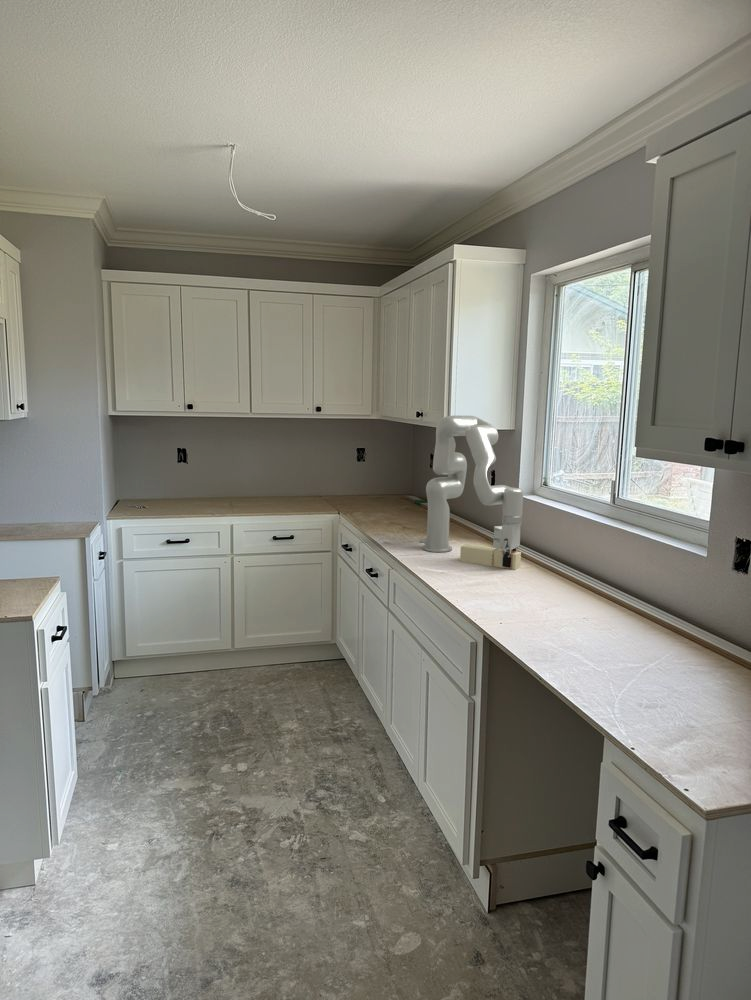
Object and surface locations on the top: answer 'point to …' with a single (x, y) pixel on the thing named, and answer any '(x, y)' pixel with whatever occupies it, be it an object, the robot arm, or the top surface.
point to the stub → (514, 559)
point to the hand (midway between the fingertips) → (509, 564)
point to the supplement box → (497, 537)
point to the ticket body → (477, 554)
